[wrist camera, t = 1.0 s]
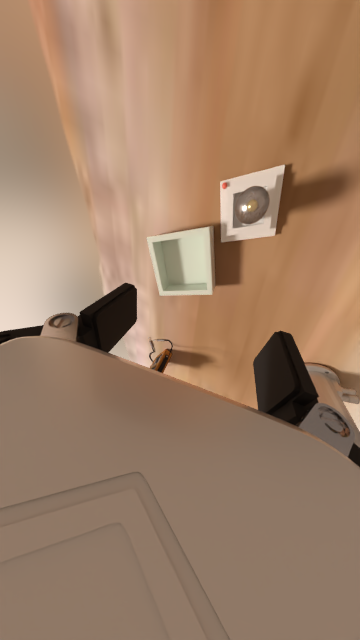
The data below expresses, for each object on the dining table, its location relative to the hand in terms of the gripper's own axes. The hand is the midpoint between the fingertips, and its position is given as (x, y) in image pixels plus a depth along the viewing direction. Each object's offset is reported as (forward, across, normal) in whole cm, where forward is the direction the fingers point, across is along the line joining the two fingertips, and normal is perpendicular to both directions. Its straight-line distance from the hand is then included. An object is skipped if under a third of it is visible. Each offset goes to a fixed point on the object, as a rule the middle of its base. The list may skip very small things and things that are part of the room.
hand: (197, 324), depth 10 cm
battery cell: (+25, -2, -7) cm, 26 cm away
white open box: (+26, +7, +4) cm, 28 cm away
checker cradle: (+26, -2, -7) cm, 27 cm away
